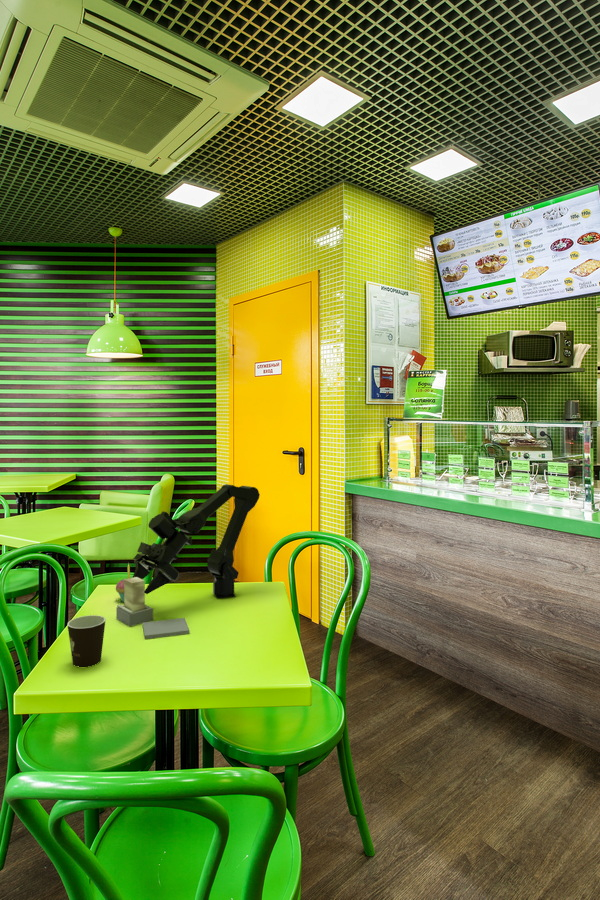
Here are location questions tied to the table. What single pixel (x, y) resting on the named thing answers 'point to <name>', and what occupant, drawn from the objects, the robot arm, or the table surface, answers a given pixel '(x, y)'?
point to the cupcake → (122, 585)
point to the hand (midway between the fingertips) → (137, 589)
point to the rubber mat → (165, 628)
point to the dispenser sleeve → (134, 615)
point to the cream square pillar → (134, 594)
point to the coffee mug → (86, 639)
